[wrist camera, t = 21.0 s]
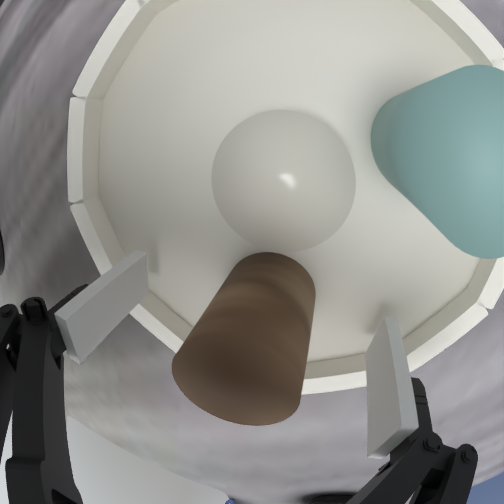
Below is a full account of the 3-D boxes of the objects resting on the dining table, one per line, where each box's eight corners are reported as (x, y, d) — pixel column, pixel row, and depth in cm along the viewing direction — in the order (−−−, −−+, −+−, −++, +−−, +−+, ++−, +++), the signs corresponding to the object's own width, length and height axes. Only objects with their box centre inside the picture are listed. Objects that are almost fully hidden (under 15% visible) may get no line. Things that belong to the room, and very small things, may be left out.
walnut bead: (224, 315, 17) (174, 401, 11) (233, 242, 15) (169, 322, 9) (303, 336, 17) (282, 435, 10) (326, 265, 14) (318, 365, 8)
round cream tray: (56, 201, 19) (29, 213, 16) (253, -88, 7) (239, -113, 4) (297, 407, 21) (291, 435, 18) (559, 192, 9) (586, 206, 6)
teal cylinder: (472, 185, 11) (558, 236, 4) (386, 206, 12) (432, 278, 6) (448, 85, 9) (535, 64, 3) (355, 104, 11) (388, 75, 5)
